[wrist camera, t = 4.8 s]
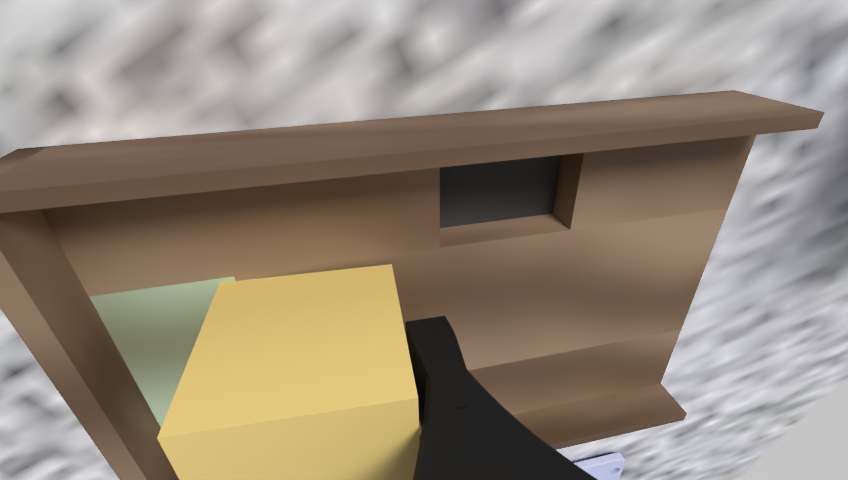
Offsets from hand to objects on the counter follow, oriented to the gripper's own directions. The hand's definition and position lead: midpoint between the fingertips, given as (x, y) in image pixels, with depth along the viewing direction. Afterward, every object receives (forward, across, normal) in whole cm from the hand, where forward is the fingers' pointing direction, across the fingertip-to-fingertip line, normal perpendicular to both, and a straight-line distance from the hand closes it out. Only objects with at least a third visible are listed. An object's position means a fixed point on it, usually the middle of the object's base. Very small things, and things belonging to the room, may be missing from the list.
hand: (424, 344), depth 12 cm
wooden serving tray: (+2, -1, 0) cm, 2 cm away
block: (+1, +3, 0) cm, 3 cm away
